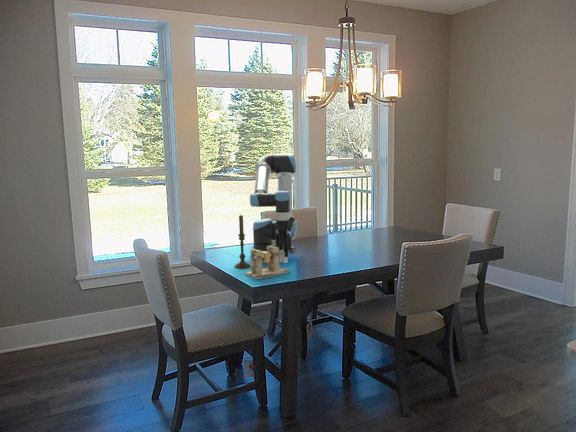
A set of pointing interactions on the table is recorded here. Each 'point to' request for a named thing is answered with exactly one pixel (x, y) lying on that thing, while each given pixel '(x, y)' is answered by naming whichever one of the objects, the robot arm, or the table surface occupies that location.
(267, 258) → the spacer
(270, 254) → the shaft
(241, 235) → the candlestick holder
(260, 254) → the shaft stand
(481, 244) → the table surface
